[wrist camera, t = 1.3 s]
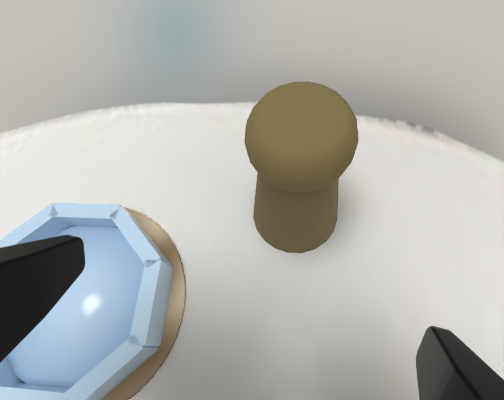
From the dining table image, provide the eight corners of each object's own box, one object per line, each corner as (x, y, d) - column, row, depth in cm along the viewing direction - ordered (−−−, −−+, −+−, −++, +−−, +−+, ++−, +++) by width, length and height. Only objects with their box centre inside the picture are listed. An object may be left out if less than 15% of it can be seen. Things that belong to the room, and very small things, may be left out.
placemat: (227, 310, 21) (226, 309, 21) (34, 484, 18) (29, 486, 18) (119, 174, 26) (117, 172, 26) (-44, 292, 23) (-49, 291, 23)
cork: (341, 182, 24) (380, 65, 14) (332, 260, 22) (371, 186, 12) (262, 171, 25) (247, 55, 15) (245, 244, 23) (214, 164, 13)
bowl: (204, 308, 21) (194, 303, 19) (38, 455, 18) (4, 469, 16) (113, 187, 25) (96, 172, 23) (-31, 292, 23) (-66, 286, 21)
